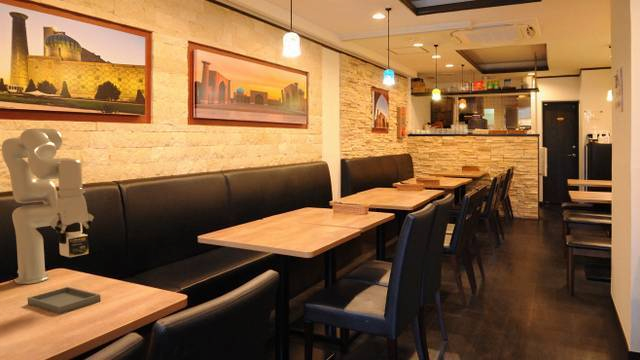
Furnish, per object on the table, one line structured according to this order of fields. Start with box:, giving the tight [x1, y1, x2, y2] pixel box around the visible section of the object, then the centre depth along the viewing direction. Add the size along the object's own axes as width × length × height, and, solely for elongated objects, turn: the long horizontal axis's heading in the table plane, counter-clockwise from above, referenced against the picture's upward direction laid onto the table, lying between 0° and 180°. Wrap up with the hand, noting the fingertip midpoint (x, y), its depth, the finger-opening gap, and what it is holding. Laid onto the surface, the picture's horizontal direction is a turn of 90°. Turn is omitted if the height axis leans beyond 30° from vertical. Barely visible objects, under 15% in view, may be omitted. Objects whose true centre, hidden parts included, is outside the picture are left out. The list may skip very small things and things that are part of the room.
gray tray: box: [27, 286, 101, 315], centre depth 171 cm, size 20×15×2 cm
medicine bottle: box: [58, 222, 89, 258], centre depth 173 cm, size 7×7×12 cm
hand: (73, 241), depth 173 cm, fingers closed on medicine bottle, 7 cm apart
